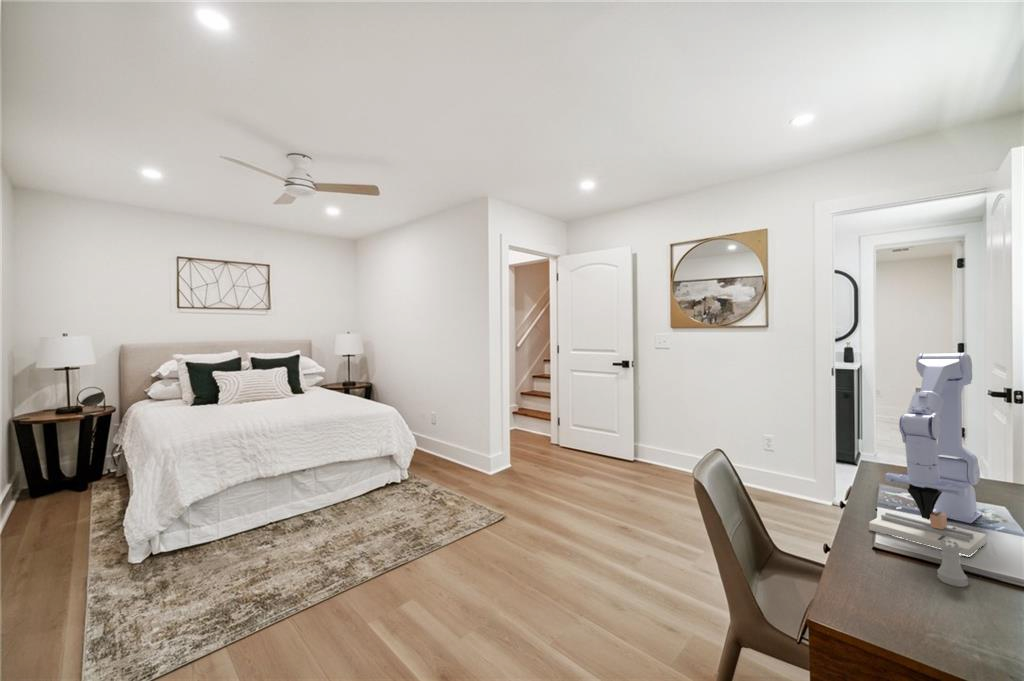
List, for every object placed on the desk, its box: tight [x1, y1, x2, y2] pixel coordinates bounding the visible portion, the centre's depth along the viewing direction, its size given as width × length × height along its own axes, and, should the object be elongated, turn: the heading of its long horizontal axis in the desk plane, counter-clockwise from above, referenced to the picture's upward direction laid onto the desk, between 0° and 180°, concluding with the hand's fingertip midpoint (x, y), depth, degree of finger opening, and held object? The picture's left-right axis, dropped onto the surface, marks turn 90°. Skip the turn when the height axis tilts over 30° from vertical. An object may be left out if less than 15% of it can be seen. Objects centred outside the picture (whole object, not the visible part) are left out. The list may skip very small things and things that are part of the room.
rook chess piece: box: [937, 540, 969, 588], centre depth 85 cm, size 4×4×8 cm
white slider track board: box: [868, 510, 988, 556], centre depth 104 cm, size 12×18×3 cm, turn 29°
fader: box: [929, 511, 948, 530], centre depth 101 cm, size 3×2×4 cm, turn 119°
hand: (927, 517), depth 103 cm, fingers closed
